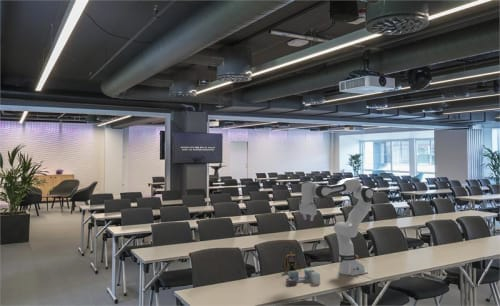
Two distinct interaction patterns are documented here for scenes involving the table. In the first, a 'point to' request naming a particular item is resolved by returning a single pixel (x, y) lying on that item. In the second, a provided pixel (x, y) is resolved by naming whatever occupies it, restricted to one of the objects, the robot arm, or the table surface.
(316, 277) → the module
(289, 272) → the blue-grey dumbbell
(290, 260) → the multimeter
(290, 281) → the relay
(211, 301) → the table surface
